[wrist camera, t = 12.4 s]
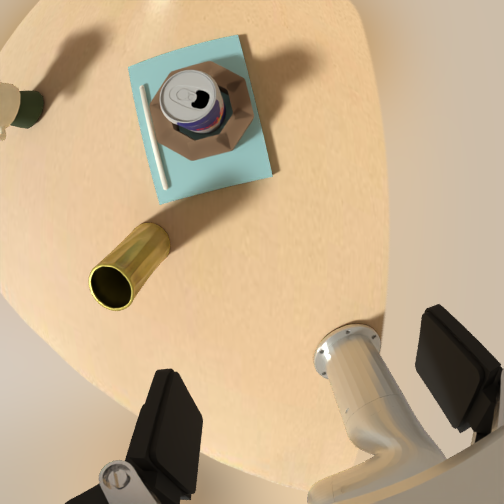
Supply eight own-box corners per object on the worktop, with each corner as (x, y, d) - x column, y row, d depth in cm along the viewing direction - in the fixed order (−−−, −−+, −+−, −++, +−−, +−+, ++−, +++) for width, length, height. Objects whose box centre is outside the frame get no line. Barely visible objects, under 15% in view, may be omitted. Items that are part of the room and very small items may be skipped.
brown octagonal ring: (259, 144, 34) (260, 144, 30) (171, 167, 34) (164, 169, 31) (238, 62, 30) (238, 54, 27) (152, 86, 30) (143, 81, 27)
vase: (143, 213, 37) (96, 247, 24) (178, 238, 39) (148, 283, 25) (124, 247, 39) (77, 292, 25) (157, 271, 40) (124, 325, 27)
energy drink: (217, 139, 33) (206, 133, 22) (178, 127, 32) (148, 117, 21) (232, 100, 32) (228, 76, 20) (192, 89, 31) (170, 61, 20)
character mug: (15, 94, 29) (-37, 89, 16) (43, 72, 28) (-9, 59, 16) (24, 148, 32) (-31, 155, 20) (53, 127, 32) (-4, 127, 20)
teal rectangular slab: (271, 175, 36) (273, 177, 34) (162, 203, 37) (158, 205, 35) (237, 38, 30) (237, 32, 28) (131, 69, 30) (126, 66, 28)
